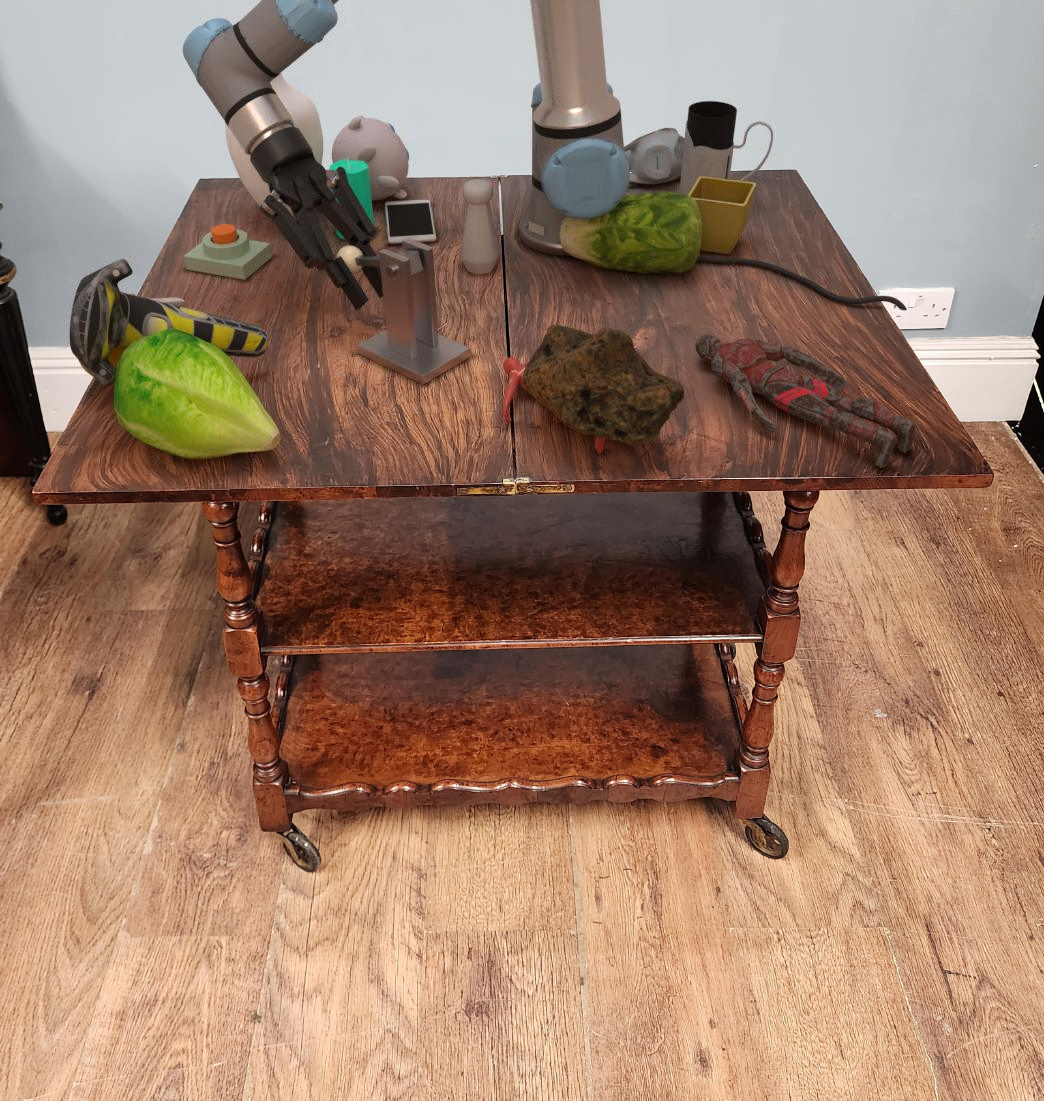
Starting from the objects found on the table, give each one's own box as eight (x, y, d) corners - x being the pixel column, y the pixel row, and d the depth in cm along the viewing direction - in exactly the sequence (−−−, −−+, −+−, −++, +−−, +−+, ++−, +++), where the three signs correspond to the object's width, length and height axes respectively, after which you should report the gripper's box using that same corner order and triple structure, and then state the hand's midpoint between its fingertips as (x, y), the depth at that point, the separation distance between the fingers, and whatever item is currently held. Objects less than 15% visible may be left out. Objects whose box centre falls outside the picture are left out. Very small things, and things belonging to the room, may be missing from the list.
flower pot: (680, 254, 164) (685, 196, 158) (693, 231, 170) (699, 174, 164) (737, 263, 161) (745, 205, 156) (749, 239, 168) (757, 182, 162)
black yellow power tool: (306, 296, 130) (266, 285, 137) (87, 253, 112) (53, 243, 119) (287, 410, 133) (248, 394, 140) (70, 387, 115) (38, 369, 122)
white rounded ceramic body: (712, 133, 177) (700, 122, 186) (597, 132, 176) (590, 121, 184) (706, 187, 182) (695, 174, 190) (594, 187, 180) (587, 173, 189)
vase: (303, 244, 166) (275, 52, 148) (223, 229, 170) (187, 40, 152) (348, 208, 176) (327, 24, 158) (272, 195, 180) (243, 14, 162)
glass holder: (680, 189, 182) (689, 97, 172) (765, 198, 179) (779, 105, 169) (671, 210, 175) (680, 116, 166) (759, 220, 172) (773, 124, 163)
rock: (620, 360, 109) (499, 301, 122) (608, 464, 115) (494, 398, 128) (709, 336, 116) (586, 284, 129) (694, 436, 122) (578, 376, 135)
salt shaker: (485, 280, 158) (482, 194, 149) (452, 271, 160) (448, 185, 151) (506, 265, 161) (505, 179, 153) (474, 256, 164) (472, 171, 155)
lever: (335, 277, 141) (327, 250, 140) (355, 267, 143) (347, 241, 142) (408, 282, 132) (400, 254, 130) (428, 272, 134) (421, 244, 133)
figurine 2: (930, 436, 128) (732, 340, 144) (941, 401, 124) (737, 306, 141) (858, 487, 120) (658, 379, 137) (867, 451, 117) (662, 345, 134)
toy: (380, 112, 165) (377, 88, 177) (313, 151, 167) (314, 124, 179) (427, 195, 173) (420, 167, 185) (363, 231, 175) (360, 200, 187)
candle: (368, 242, 167) (360, 165, 159) (331, 238, 168) (321, 162, 160) (379, 225, 172) (372, 150, 164) (343, 222, 173) (335, 147, 165)
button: (242, 237, 160) (240, 226, 159) (229, 247, 158) (227, 236, 157) (221, 233, 161) (219, 222, 160) (208, 243, 159) (205, 232, 158)
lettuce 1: (254, 511, 126) (220, 478, 114) (117, 434, 129) (71, 394, 118) (318, 414, 129) (291, 372, 117) (182, 341, 132) (143, 293, 121)
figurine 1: (664, 419, 131) (550, 349, 141) (667, 394, 128) (552, 325, 139) (569, 473, 123) (456, 395, 133) (571, 448, 120) (455, 371, 131)
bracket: (357, 353, 142) (345, 248, 132) (405, 327, 147) (397, 223, 138) (423, 385, 136) (415, 277, 127) (471, 356, 142) (467, 250, 132)
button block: (272, 256, 164) (268, 231, 161) (245, 280, 158) (240, 254, 155) (215, 247, 166) (210, 222, 164) (186, 269, 161) (180, 244, 158)
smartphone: (387, 241, 166) (384, 201, 177) (388, 245, 166) (384, 205, 177) (436, 238, 166) (430, 198, 178) (437, 242, 167) (430, 202, 178)
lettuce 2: (561, 244, 165) (560, 176, 157) (697, 245, 164) (703, 176, 156) (557, 288, 158) (557, 219, 149) (700, 289, 156) (707, 219, 148)
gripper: (310, 139, 146) (406, 288, 149) (210, 176, 137) (315, 335, 139) (332, 107, 140) (432, 263, 143) (230, 144, 130) (339, 311, 133)
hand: (374, 298), depth 141 cm, fingers closed on lever, 4 cm apart
